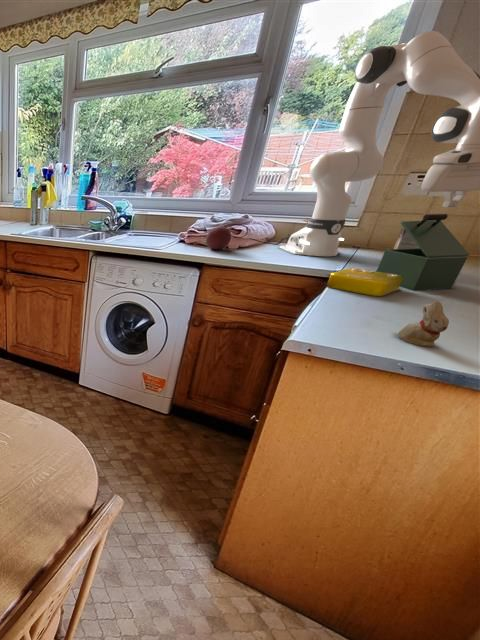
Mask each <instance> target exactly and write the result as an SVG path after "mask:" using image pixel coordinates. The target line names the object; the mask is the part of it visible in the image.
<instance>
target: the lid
mask: <svg viewBox="0 0 480 640" xmlns="http://www.w3.org/2000/svg"><path fill="white" fill-rule="evenodd" d="M448 216H449V215H448V214H447V213H431V214H430V213H429V214H425V215H423V217H422V219H421V220H409V221H401V222H400V225H401V226H402V227H404V229H405V230H406V231H407V232H408V234H409V235H410V236H411V238H412V239H413V240H414V241H415V243H416V244H417V245H418V246H419V248H420V249H421V250H422V252H423V253H424V254H425V255H426V257H427V258H442V257H467V258H468V257H469V256H470V253H469V252H468V250H467V249H466V248H465V247H464V246H463V245H462V244H461V243H460V241H459V240H458V239H457V238H456V237H455V236H454V234H453V233H452V232H451V230H449V229H448V227H447V226H446V225H445V224H444V222H443V221H445V220H446V219H447V218H448Z"/></svg>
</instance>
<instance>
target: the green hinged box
mask: <svg viewBox="0 0 480 640" xmlns="http://www.w3.org/2000/svg"><path fill="white" fill-rule="evenodd" d="M467 260H468V256H467V257H442V258H427V257H426V255H425V254H424V253H423V252H422V250H421V249H420V248H412V249H394V248H391V249H385V250H384V252H383V254H382V257H381V260H380V262H379V263H378V266H377V268H376V271H377V272H383V273H390V274H396V275H402V276H403V280H402V282H401V284H400V287H402V288H405V289H408V290H412V291H421V290H445V289H448V290H449V289H453V287H454V285H455V283H456V281H457V279H458V277H459V275H460V273H461V271H462V269H463V267H464V266H465V263H466V261H467Z"/></svg>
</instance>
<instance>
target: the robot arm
mask: <svg viewBox="0 0 480 640" xmlns="http://www.w3.org/2000/svg"><path fill="white" fill-rule="evenodd" d="M354 79H355V81H356V82H355V84H354V86H353V88H352V90H351V92H350V95H349V97H348V99H347V102H346V105H345V108H344V111H343V115H342V118H341V121H340V126H339V129H338V137H339V138H340V139H341V140H342V141H343V143H344V147H345V148H344V149H345V151H344V150H343V151H331V152H327V153H323V154H321V155H318V156H317V157H316V158H315V159H314V160H313V161H312V163H311V165H310V167H309V176H310V179H311V180H312V181H313V183H314V184H315V186H316V196H317V197H316V202H315V205H314V209H313V212H312V216H311V217H310V218H306V219H305V220H306V221H305V223H306V224H305V226H303V228H301V229H299V230H298V231H296V232H294V233H288V234H287V236H286V237H284V238H282V239H280V241H279V242H275V243H273V242H270V241H267V240H264V241H265V242H264V243H265V244H269V245H274V246H277V245H280V244H281V243H282V242H283V241H284V240H286V242H287V243H286V244H282V245H280V246H279V249H281V250H283V251H286V252H288V253H291V254H292V255H293V254H294V255H299V256H300V255H302V256H311V257H335V256H337V255H338V254H339V252H340V250H338V249H339V245H340V242H341V241H342V242H343V241H345V238H343V237H342V229H344V227H345V224H346V218H347V217H346V216H347V214H348V212H349V209H350V205H351V204H352V197H351V195H350V194H349V193H348V192H347V191H346V183H350V182H351V183H352V182H361V181H362V182H363V181H366V180H369V179H372V178H374V177H376V176H377V175H378V174H379V173H380V172H381V170H382V168H383V166H384V157H383V155H382V154H381V152H380V151H379V149H378V147H377V140H376V139H377V138H376V137H377V136H376V135H377V128H378V124H379V121H380V118H381V114H382V112H383V107H384V104H385V101H386V98H387V94H388V92H389V91H390V90H391V89H392V87H394V86H395V85H396V86H397V87H398V88H399V87H403V86H405V85H406V84H407V85H408V87H410V89H411V90H413V91H414V92H415V93H416V94H420V95H427V96H436V97H443V98H447V99H452V100H454V101H456V102H457V103H459V105H458V106H455V107H451V108H448V109H446V110H444V112H442V113H440V114H439V116H438V117H437V118H436V119H435V121H434V123H433V124H432V127H431V133H430V135H431V138H432V140H433V141H434V142H436V143H439V144H457V145H456V146H455V148H453V149H450V150H447V151H446V152H443V153H440V154H436V155H435V156H434V157H433V160H432V165H431V166H430V168H429V169H428V170H427V172H426V174H425V176H424V178H423V181H422V183H421V186H420V188H421V191H422V192H428V193H429V192H430V193H437V192H438V193H440V192H441V193H442V192H444V193H443V203H442V208H457V207H458V205H459V203H460V202H461V201H462V200H463V199H464V198H465V197H466V196H468V193H469V192H470V191H480V74H479V73H477V71H475V70H474V69H472V68H471V67H470V66H469V65H467V63H465V61H464V60H462V58H461V57H460V56H459V55H458V54H457V52H456V50H455V49H454V47H453V45H452V44H451V42H450V41H449V40H448V38H447V37H445V36H444V35H443V34H441V32H439V31H437V30H427V31H424V32H422V33H419V34H417V35H415V36H414V37H413V38H412V39H411V40H409V42H408V43H406V42H405V43H400V44H393V45H381V46H376V47H373V48H371V49H368V50H367V51H366V52H365V53H364V54H363V55H362V56H361V57H360V58H359V60H358V61H357V63H356V66H355V69H354Z"/></svg>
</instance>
